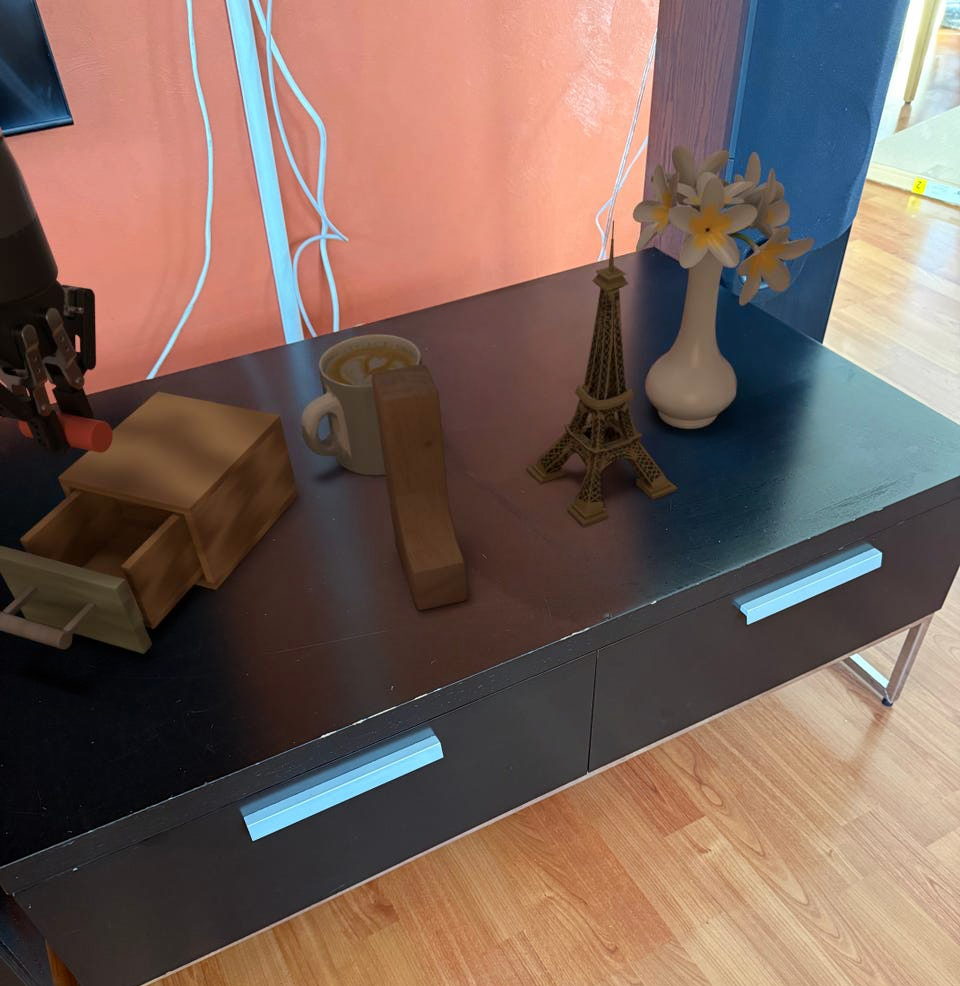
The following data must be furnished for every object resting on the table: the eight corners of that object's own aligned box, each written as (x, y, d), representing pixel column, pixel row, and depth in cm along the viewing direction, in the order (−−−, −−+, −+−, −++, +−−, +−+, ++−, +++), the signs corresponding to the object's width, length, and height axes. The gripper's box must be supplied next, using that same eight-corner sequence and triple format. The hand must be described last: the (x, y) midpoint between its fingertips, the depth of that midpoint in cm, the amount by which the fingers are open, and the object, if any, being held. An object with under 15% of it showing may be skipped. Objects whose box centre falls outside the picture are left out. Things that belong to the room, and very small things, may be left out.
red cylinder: (45, 429, 77) (23, 442, 75) (36, 401, 75) (14, 413, 73) (115, 444, 75) (95, 458, 73) (108, 416, 73) (87, 429, 71)
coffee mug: (403, 410, 103) (393, 324, 96) (447, 454, 97) (439, 366, 90) (289, 450, 99) (269, 363, 92) (327, 499, 93) (308, 409, 86)
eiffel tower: (614, 437, 98) (630, 184, 80) (676, 490, 91) (709, 227, 73) (525, 469, 95) (521, 214, 77) (583, 527, 88) (593, 261, 70)
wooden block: (468, 601, 82) (454, 420, 69) (417, 612, 81) (393, 432, 68) (443, 537, 88) (425, 361, 75) (395, 548, 87) (369, 371, 74)
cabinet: (216, 590, 84) (188, 508, 78) (93, 557, 88) (57, 477, 82) (298, 495, 93) (280, 415, 87) (183, 469, 98) (157, 391, 91)
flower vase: (713, 479, 92) (755, 217, 74) (589, 400, 103) (599, 154, 85) (805, 430, 97) (864, 174, 79) (678, 360, 108) (704, 120, 90)
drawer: (108, 695, 75) (75, 630, 70) (-14, 656, 79) (-53, 591, 73) (233, 552, 86) (213, 487, 81) (122, 524, 90) (96, 460, 85)
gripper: (4, 174, 68) (87, 389, 80) (-150, 256, 59) (-29, 483, 71) (88, 184, 66) (161, 403, 78) (-58, 270, 57) (50, 502, 69)
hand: (70, 440), depth 75 cm, fingers closed on red cylinder, 2 cm apart
